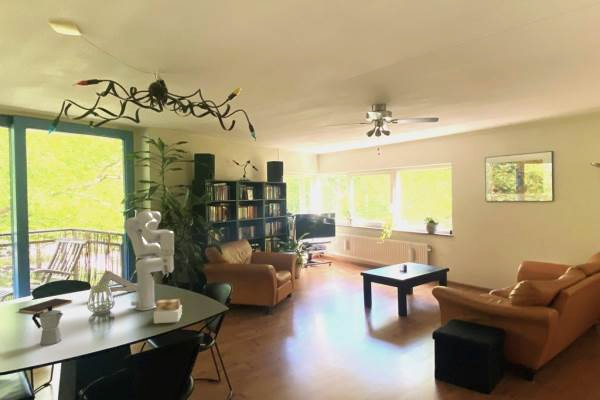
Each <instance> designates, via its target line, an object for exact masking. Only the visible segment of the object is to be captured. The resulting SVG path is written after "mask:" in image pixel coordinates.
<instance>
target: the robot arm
mask: <svg viewBox="0 0 600 400" xmlns="http://www.w3.org/2000/svg"><path fill="white" fill-rule="evenodd" d="M161 222H162V215H161V213H160V212H159V211H157V210H147V211H146V210H143V211H140V212H138V213H137V215H136V216H134V217H130V218H127V219H126V220H125V222H124V226H125V227H124V228H125V229H124V230H125V231H126V233H127V234H126V235H127V236H128V237H129V239H130V241H131V245H132V249H133V251H134V255H135V257H137V258H139V259H138V260H136V262H135V270H136V274H137V286H138V291H137V301H131V306H135V310H136V311H143V312H144V311H150V310H153V309H156V302H155V278H154V277H153V276H152V274H151V273H156V272H160V271H161V273H162V285H169V284H170V283H169V281H171V280H173V272H174V269H175V266H174V265H175V262H174V255H175V233H174V231H172V230H170V229H167V228H166V229H165V228H164V229H158V226H159V224H160V223H161ZM140 230H141V231H140Z"/></svg>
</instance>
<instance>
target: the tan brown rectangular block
mask: <svg viewBox="0 0 600 400" xmlns="http://www.w3.org/2000/svg"><path fill="white" fill-rule="evenodd" d="M155 303H156V308H155V309H156V310H155V311H160V310H178V309H179V307H180V305H181V299H180V298H175V299H158V300H157V301H155Z"/></svg>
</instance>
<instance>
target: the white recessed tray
mask: <svg viewBox="0 0 600 400" xmlns="http://www.w3.org/2000/svg"><path fill="white" fill-rule="evenodd" d="M181 315H183V305H182V304H180V307H179V309H178V310H160V311H156V310H155V311H154V312H153V324H165V323H166V324H167V323H168V324H169V323H178V322H179V321H180V319H181V317H182V316H181Z"/></svg>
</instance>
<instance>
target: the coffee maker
mask: <svg viewBox="0 0 600 400" xmlns="http://www.w3.org/2000/svg"><path fill="white" fill-rule="evenodd" d="M47 308H48V311H45V312H44V311H41V312H40V313H36V314H34V313H33V315H32V317H31V319H32V321H33V323H34V324H35V326H36V327H37V328H38V329H42V331H41V337H40V343H39V344H40V346H42V347H44V346H49V347H50V346H53V345H56V344H59V343H60V342H61V341H62V337H61V332H60V328H59V325H60V320H61V318H62V316H63V315H64V313H62V311H61V310H56V309H52V308H53V305H50V306H47ZM38 319H39V321H38Z"/></svg>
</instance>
